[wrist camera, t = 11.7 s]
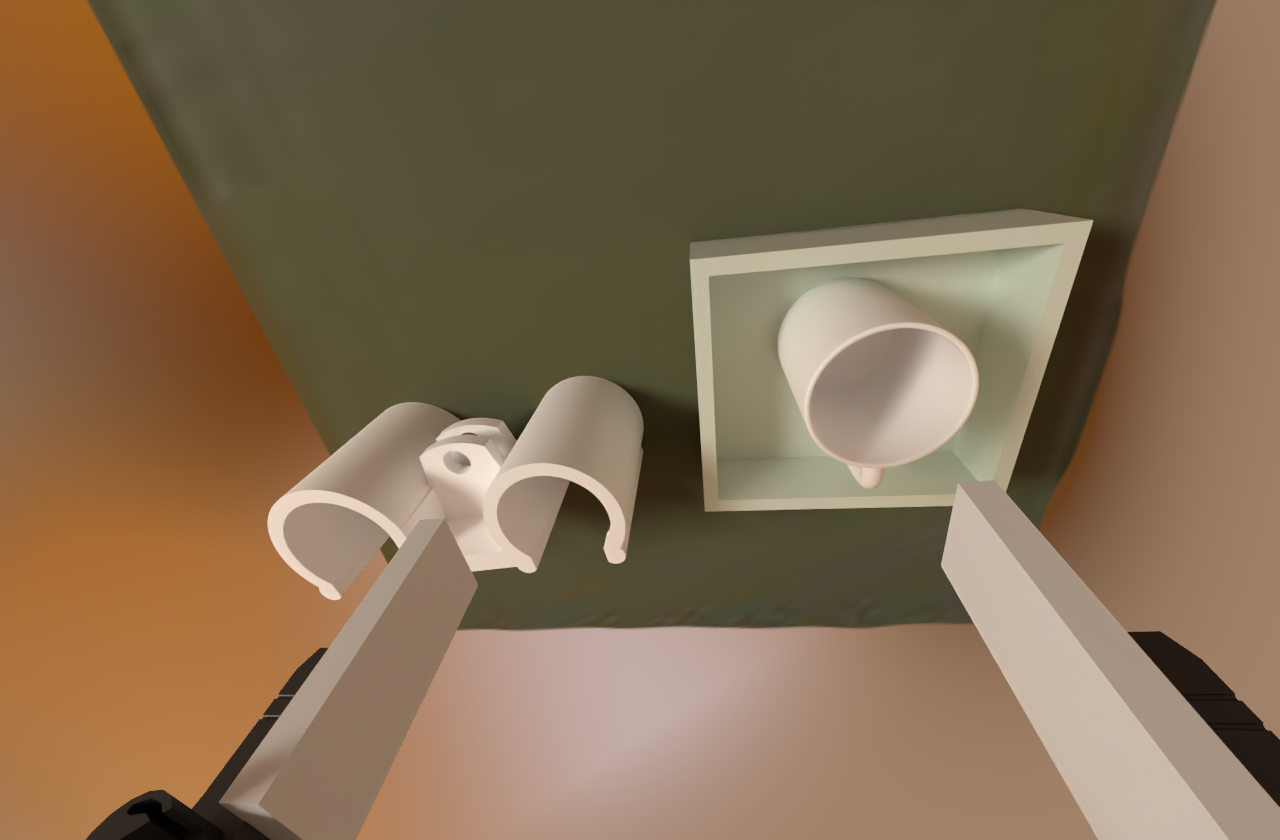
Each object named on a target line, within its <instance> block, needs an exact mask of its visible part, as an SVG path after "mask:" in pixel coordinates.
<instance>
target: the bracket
mask: <svg viewBox="0 0 1280 840" xmlns="http://www.w3.org/2000/svg"><path fill="white" fill-rule="evenodd" d="M643 430H644V425H643V418H642V414H641V411H640V409H639V407H638V405H637V404H636V402H635V401H634V399H633V398H632V397H631V396H630V395H629V394H628V393H627V392H626V391H625V390H624V389H623V388H621V387H620V386H618V385H617V384H615V383H613V382H611V381H608V380H606V379H603V378H599V377H593V376H578V377H572V378H568V379H566V380H563V381H561V382H559V383H558V384H556V385H555V386H553V387H552V388H551V389H550V390H549V391H548V392H547V393H546V395H545V396H544V398H543V399H542V401H541V403H540V404H539V406H538V408H537V409H536V411H535V412H534V414H533V416H532V417H531V419H530V421H529V422H528V424H527V426H526V427H525V429H524V430H523V432H522V434H521V435H520V437H519V439H518V440H517V441H516V439H515V438H514V436H513V435H512V433H511V432H510V431H509V429H508V428H507V426H506V425H505V423H504V422H503V421H502V420H498V419H492V418H471V419H466V420H462V421H461V420H460V419H458V418H457V417H456V416H454V415H453V414H451V413H449V412H447V411H445V410H443V409H441V408H439V407H436V406H433V405H430V404H425V403H418V402H407V403H401V404H397V405H394V406H392V407H390V408H388V409H387V410H385V411H384V412H383V413H382V414H380V415H379V416H378V417H377V418H376V419H374V420H373V421H372V422H371V423H370V424H368V425H367V426H366V427H365V428H364V429H362V430H361V431H360V432H359V433H358V434H357V435H355V436H354V437H353V438H352V439H351V440H349V441H348V442H347V443H346V444H345V445H343V446H342V447H341V448H340V449H339V450H337V451H336V452H335V453H334V454H333V455H331V456H330V457H329V458H328V459H327V460H326V461H325V462H323V463H322V464H321V465H320V466H318V467H317V468H316V469H315V470H314V471H312V472H311V473H310V474H309V475H308V476H306V477H305V478H304V479H303V480H302V481H300V482H299V483H298V484H297V485H296V486H295V487H293V488H292V489H291V490H290V491H289V492H287V493H286V494H285V495H284V496H283V497H281V498H280V499H279V500H278V501H277V502H276V503H275V504H274V506H273V507H272V508H271V510H270V513H269V516H268V531H269V535H270V538H271V540H272V543H273V545H274V547H275V548H276V550H277V551H278V553H279V554H280V556H281V557H282V558H283V559H284V561H285V562H286V563H287V564H288V565H289V566H290V567H291V568H292V569H293V570H294V571H296V572H297V573H298V574H299V575H301V576H302V577H303V578H305V579H306V580H308V581H309V582H311V583H312V584H314V585H316V586H318V587H319V590H320V592H321V594H322V595H323V596H325V597H327V598H329V599H332V600H338V599H340V598H341V597H342V596H343V595H344V593H345V592H346V591H347V590H348V588H349V587H350V586H351V584H352V583H353V582H354V581H355V579H356V578H357V577H358V576H359V574H360V573H361V572H362V571H363V569H364V568H365V567H366V565H367V564H368V563H369V562H370V560H371V559H372V558H373V557H374V555H375V554H376V553H377V551H378V550H379V549H380V548H381V547H382V545H383V544H384V543H385V541H386V540H387V539H388V538H389V536H390V537H391V538H392V539H393V540H394V542H395V543H396V545H397V546H398V548H399V549H400V547H401V546H402V544H403V543H404V542H405V540H406V539H407V537H408V536H409V534H410V533H411V532H412V530H413V529H414V527H415V526H416V525H417V523H418V522H419V520H425V519H439V518H445V520H446V522H447V524H448V526H449V528H450V530H451V532H452V534H453V536H454V538H455V540H456V542H457V544H458V546H459V548H460V550H461V552H462V554H463V556H464V558H465V560H466V562H467V564H468V566H469V568H470V570H471V572H472V571H481V570H490V569H499V568H508V567H518V568H519V569H520V570H521V571H523V572H526V573H532V572H535V571H536V570H537V568H538V565H539V562H540V560H541V557H542V554H543V552H544V549H545V546H546V544H547V541H548V538H549V536H550V533H551V530H552V528H553V525H554V522H555V520H556V517H557V514H558V512H559V509H560V506H561V504H562V501H563V498H564V496H565V493H566V490H567V488H568V485H569V482H570V481H572V482H575V483H577V484H579V485H581V486H583V487H584V488H586V489H587V490H589V491H590V492H591V493H593V494H594V495H595V496H596V497H597V498H598V499H599V500H600V502H601V503H602V504H603V506H604V507H605V509H606V511H607V513H608V515H609V518H610V523H611V525H610V530H609V531H608V532H607V536H606V540H605V545H604V551H605V554H606V556H607V559H608V562H610V563H615V564H617V563H621V562H623V561H624V560H625V558H626V552H627V546H628V540H629V534H630V528H631V522H632V516H633V510H634V504H635V498H636V492H637V486H638V480H639V474H640V468H641V462H642V456H643V449H642V447H641V443H642V437H643ZM473 433H474V434H476V435H474V434H473ZM477 435H478V436H477Z"/></svg>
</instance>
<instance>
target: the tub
mask: <svg viewBox="0 0 1280 840" xmlns="http://www.w3.org/2000/svg"><path fill="white" fill-rule="evenodd" d="M1092 223H1093V220H1090V219H1083V218H1077V217H1071V216H1065V215H1059V214H1053V213H1047V212H1041V211H1035V210H1028V209H1022V208H1019V209H1009V210H999V211H990V212H980V213H970V214H961V215H951V216H941V217H932V218H922V219H912V220H903V221H893V222H883V223H874V224H864V225H854V226H844V227H835V228H825V229H815V230H806V231H796V232H786V233H777V234H767V235H757V236H748V237H738V238H728V239H719V240H709V241H699V242H690V270H691V287H692V304H693V320H694V337H695V354H696V370H697V387H698V403H699V420H700V437H701V453H702V470H703V487H704V503H705V511H748V510H791V509H834V508H878V507H921V506H953V505H954V500H955V495H956V490H957V485H958V483H961V482H975V481H990V480H995V481H996V482H997V484H998V485H999V486H1000V487H1001V488H1002V489H1003V490H1004V492H1005V493H1006V490H1007V487H1008V484H1009V481H1010V478H1011V475H1012V471H1013V468H1014V465H1015V462H1016V459H1017V456H1018V453H1019V450H1020V447H1021V444H1022V440H1023V437H1024V434H1025V431H1026V428H1027V425H1028V422H1029V419H1030V416H1031V412H1032V409H1033V406H1034V403H1035V400H1036V397H1037V394H1038V391H1039V388H1040V385H1041V381H1042V378H1043V375H1044V372H1045V369H1046V366H1047V363H1048V360H1049V357H1050V354H1051V350H1052V347H1053V344H1054V341H1055V338H1056V335H1057V332H1058V329H1059V326H1060V323H1061V319H1062V316H1063V313H1064V310H1065V307H1066V304H1067V301H1068V298H1069V295H1070V292H1071V288H1072V285H1073V282H1074V279H1075V276H1076V273H1077V270H1078V267H1079V264H1080V261H1081V257H1082V254H1083V251H1084V248H1085V245H1086V242H1087V239H1088V236H1089V233H1090V230H1091V226H1092ZM838 278H861V279H866V280H870V281H873V282H875V283H878V284H880V285H882V286H884V287H885V288H887V289H889V290H890V291H892V292H893V293H894V294H896V295H897V296H899V297H900V298H902V299H903V300H905V301H906V302H907V303H909V304H910V305H912V306H913V307H915V308H916V309H918V310H919V311H921V312H922V313H923V314H925V315H926V316H928V317H929V318H931V319H932V320H934V321H935V322H936V323H938V324H939V325H941V326H942V327H944V328H945V329H947V330H948V331H949V332H951V333H952V334H954V335H955V336H957V337H958V338H959V339H960V340H961V341H962V342H964V343H965V345H966V346H967V347H968V348H969V350H970V351H971V353H972V355H973V356H974V359H975V361H976V364H977V367H978V373H979V390H978V395H977V399H976V402H975V405H974V408H973V410H972V412H971V414H970V416H969V417H968V419H967V421H966V422H965V423H964V425H963V426H962V427H961V429H960V430H959V431H958V432H957V433H956V434H955V435H954V436H953V437H952V438H951V439H950V440H949V441H948V442H946V443H945V444H944V445H942V446H941V447H940V448H938V449H937V450H935V451H934V452H932V453H930V454H928V455H926V456H925V457H922V458H920V459H918V460H915V461H913V462H910V463H907V464H903V465H899V466H894V467H887V468H885V470H884V476H883V479H882V481H881V483H880V485H878V486H877V487H876V488H873V489H868V488H864V487H862V486H861V485H860V484H859V483H858V482H857V481H856V479H855V478H854V476H853V475H852V473H851V471H850V469H849V468H848V465H847V464H846V463H843V462H841V461H839V460H836V459H834V458H833V457H831V456H830V455H828V454H827V453H825V452H824V451H823V450H822V449H821V448H820V447H819V446H818V445H817V444H816V443H815V441H814V440H813V438H812V437H811V435H810V433H809V431H808V429H807V426H806V424H805V421H804V419H803V417H802V414H801V412H800V409H799V407H798V404H797V402H796V400H795V397H794V395H793V392H792V390H791V388H790V385H789V383H788V380H787V378H786V376H785V373H784V371H783V368H782V366H781V363H780V359H779V355H778V334H779V329H780V326H781V324H782V321H783V319H784V317H785V315H786V313H787V312H788V310H789V309H790V308H791V306H792V305H793V304H794V303H795V302H796V301H797V300H798V299H799V298H800V297H801V296H802V295H803V294H805V293H806V292H807V291H809V290H810V289H812V288H814V287H815V286H817V285H819V284H822V283H824V282H827V281H830V280H834V279H838Z"/></svg>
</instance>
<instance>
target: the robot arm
mask: <svg viewBox="0 0 1280 840" xmlns="http://www.w3.org/2000/svg"><path fill="white" fill-rule="evenodd" d="M941 567H942V568H943V570H944V572H945V573H946V575H947V577H948V579H949V580H950V582H951V584H952V586H953V587H954V589H955V591H956V593H957V594H958V596H959V598H960V600H961V601H962V603H963V605H964V607H965V608H966V610H967V612H968V614H969V615H970V617H971V619H972V621H973V622H974V624H975V626H976V627H977V629H978V631H979V633H980V634H981V636H982V638H983V640H984V641H985V643H986V645H987V647H988V648H989V650H990V652H991V654H992V655H993V657H994V659H995V661H996V662H997V664H998V666H999V668H1000V669H1001V671H1002V673H1003V675H1004V676H1005V678H1006V680H1007V681H1008V683H1009V685H1010V687H1011V688H1012V690H1013V692H1014V693H1015V696H1016V697H1017V699H1018V701H1019V702H1020V704H1021V706H1022V707H1023V709H1024V711H1025V713H1026V715H1027V716H1028V718H1029V720H1030V721H1031V723H1032V725H1033V727H1034V729H1035V730H1036V732H1037V734H1038V736H1039V737H1040V739H1041V741H1042V743H1043V744H1044V746H1045V748H1046V749H1047V751H1048V753H1049V755H1050V757H1051V758H1052V760H1053V762H1054V763H1055V765H1056V767H1057V769H1058V770H1059V772H1060V774H1061V776H1062V777H1063V779H1064V781H1065V783H1066V784H1067V786H1068V788H1069V790H1070V791H1071V793H1072V795H1073V796H1074V798H1075V800H1076V802H1077V803H1078V805H1079V807H1080V809H1081V811H1082V812H1083V814H1084V816H1085V818H1086V819H1087V821H1088V823H1089V824H1090V826H1091V828H1092V830H1093V831H1094V833H1095V835H1096V837H1097V838H1098V840H1280V740H1279V739H1278V738H1277V737H1276V736H1275V735H1274V734H1273V732H1272V731H1268V730H1266V729H1265V728H1264V726H1263V722H1262V721H1261V720H1260V719H1259V718H1258V717H1257V716H1256V715H1255V714H1254V713H1253V712H1252V711H1251V710H1250V709H1249V708H1248V707H1247V706H1246V705H1245V704H1244V703H1243V702H1242V701H1239V700H1237V699H1236V697H1235V693H1234V692H1233V691H1232V690H1231V689H1230V688H1229V687H1228V686H1227V685H1226V684H1225V683H1224V682H1223V681H1222V680H1221V679H1220V678H1219V677H1218V676H1217V675H1216V674H1215V673H1214V672H1213V671H1212V670H1211V669H1210V668H1209V666H1208V665H1207V664H1206V663H1205V662H1204V661H1203V660H1202V659H1200V658H1199V657H1197V656H1196V655H1194V654H1193V653H1191V652H1190V651H1188V650H1187V649H1185V648H1184V647H1183V646H1181V645H1179V644H1178V643H1177V642H1175V641H1174V640H1172V639H1171V638H1169V637H1168V636H1166V635H1165V634H1163V633H1162V632H1160V631H1157V632H1126V631H1125V629H1124V628H1123V627H1122V626H1121V625H1120V624H1119V622H1118V621H1117V620H1116V619H1115V618H1114V617H1113V616H1112V614H1111V613H1110V612H1109V611H1108V610H1107V609H1106V607H1105V606H1104V605H1103V604H1102V603H1101V602H1100V601H1099V599H1098V598H1097V597H1096V596H1095V595H1094V594H1093V593H1092V592H1091V590H1090V589H1089V588H1088V587H1087V586H1086V585H1085V583H1084V582H1083V581H1082V580H1081V579H1080V578H1079V577H1078V576H1077V574H1076V573H1075V572H1074V571H1073V570H1072V569H1071V567H1070V566H1069V565H1068V564H1067V563H1066V562H1065V560H1064V559H1063V558H1062V557H1061V556H1060V555H1059V554H1058V552H1057V551H1056V550H1055V549H1054V548H1053V547H1052V546H1051V544H1050V543H1049V542H1048V541H1047V540H1046V539H1045V537H1044V536H1043V535H1042V534H1041V533H1040V532H1039V531H1038V529H1037V528H1036V527H1035V526H1034V525H1033V524H1032V523H1031V521H1030V520H1029V519H1028V518H1027V517H1026V516H1025V515H1024V513H1023V512H1022V511H1021V510H1020V509H1019V508H1018V506H1017V505H1016V504H1015V503H1014V502H1013V501H1012V500H1011V498H1010V497H1009V496H1008V495H1007V494H1006V493H1005V492H1004V490H1003V489H1002V488H1001V487H1000V486H999V485H998V484H997V482H996V481H995V480H990V481H975V482H961V483H958V485H957V490H956V495H955V500H954V505H953V510H952V514H951V519H950V524H949V529H948V534H947V539H946V544H945V549H944V554H943V558H942V563H941ZM477 586H478V584H477V582H476V580H475V578H474V576H473V574H472V572H471V570H470V568H469V566H468V564H467V562H466V560H465V558H464V556H463V554H462V552H461V550H460V548H459V546H458V544H457V542H456V540H455V538H454V536H453V534H452V532H451V530H450V528H449V526H448V524H447V522H446V520H445V518H439V519H425V520H419V522H418V523H417V525H416V526H415V527H414V529H413V530H412V532H411V533H410V534H409V536H408V537H407V539H406V540H405V542H404V543H403V544H402V546H401V547H400V549H399V550H398V551H397V553H396V554H395V556H394V557H393V558H392V560H391V561H390V563H389V564H388V565H387V567H386V568H385V570H384V571H383V572H382V574H381V575H380V577H379V578H378V579H377V581H376V582H375V584H374V585H373V586H372V588H371V589H370V591H369V592H368V593H367V595H366V596H365V598H364V599H363V600H362V602H361V603H360V605H359V606H358V607H357V609H356V610H355V612H354V613H353V614H352V616H351V617H350V619H349V620H348V621H347V623H346V624H345V626H344V627H343V629H342V630H341V631H340V633H339V634H338V636H337V637H336V638H335V640H334V641H333V643H332V644H331V646H330V647H329V648H320V649H318V650H317V651H316V652H315V653H314V654H313V655H312V656H311V657H310V658H309V659H308V660H306V661H305V662H304V663H303V664H302V665H301V666H300V667H299V668H298V669H297V670H296V671H295V672H294V674H293V675H292V676H291V678H290V679H289V681H288V682H287V683H286V684H285V686H284V687H283V689H282V690H281V691H280V693H279V697H278V698H277V699H274V701H273V702H272V703H271V705H270V706H269V707H268V709H267V710H266V711H265V713H264V714H263V715H264V717H263V719H261V720H259V721H258V722H257V723H256V725H255V726H254V727H253V729H252V730H251V732H250V733H249V734H248V736H247V737H246V738H245V740H244V741H243V743H242V744H241V745H240V746H239V748H238V749H237V750H236V752H235V753H234V754H233V756H232V757H231V758H230V760H229V761H228V762H227V764H226V765H225V766H224V768H223V769H222V771H221V772H220V773H219V775H218V776H217V777H216V779H215V780H214V781H213V783H212V784H211V785H210V787H209V788H208V790H207V791H206V792H205V793H204V795H203V796H202V797H201V798H200V800H199V801H198V802H197V803H196V804H195V806H194V807H193V808H192V809H190V808H189V807H187V806H186V805H184V804H183V803H182V802H180V801H179V800H177V799H176V798H174V797H173V796H171V795H170V794H168V793H167V792H166V791H164V790H157V791H149V792H147V793H145V794H142V795H140V796H138V797H136V798H134V799H132V800H130V801H129V802H127V803H126V804H124V805H123V806H122V807H120V808H119V809H117V810H116V811H115V812H113V813H112V814H111V815H109V817H107V818H106V819H105V820H104V821H103V822H102V823H101V824H100V825H99V826H98V827H97V828H96V829H95V830H94V831H93V832H92V833H91V834H90V835H89V836H88V838H87V839H86V840H356V838H357V836H358V834H359V832H360V830H361V828H362V826H363V824H364V822H365V820H366V818H367V816H368V813H369V811H370V809H371V807H372V805H373V803H374V801H375V799H376V797H377V795H378V793H379V791H380V788H381V786H382V784H383V782H384V780H385V778H386V776H387V774H388V771H389V770H390V768H391V766H392V763H393V761H394V759H395V757H396V755H397V753H398V751H399V749H400V747H401V745H402V742H403V740H404V738H405V736H406V734H407V732H408V730H409V728H410V726H411V724H412V722H413V720H414V718H415V716H416V713H417V711H418V709H419V707H420V705H421V703H422V701H423V699H424V697H425V695H426V693H427V690H428V688H429V686H430V684H431V682H432V680H433V678H434V676H435V674H436V671H437V670H438V668H439V665H440V663H441V661H442V659H443V657H444V655H445V653H446V651H447V649H448V647H449V644H450V643H451V640H452V638H453V636H454V634H455V632H456V630H457V628H458V626H459V624H460V622H461V620H462V618H463V616H464V613H465V611H466V609H467V607H468V605H469V603H470V601H471V599H472V597H473V595H474V593H475V591H476V588H477Z"/></svg>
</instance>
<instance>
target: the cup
mask: <svg viewBox="0 0 1280 840" xmlns="http://www.w3.org/2000/svg"><path fill="white" fill-rule="evenodd" d="M778 355H779V359H780V363H781V366H782V368H783V371H784V373H785V376H786V378H787V380H788V383H789V385H790V388H791V390H792V392H793V395H794V397H795V400H796V402H797V404H798V407H799V409H800V412H801V414H802V417H803V419H804V421H805V424H806V426H807V429H808V431H809V433H810V435H811V437H812V438H813V440H814V441H815V443H816V444H817V445H818V446H819V447H820V448H821V449H822V450H823V451H824V452H825V453H827V454H828V455H830V456H831V457H833V458H834V459H836V460H839V461H841V462H843V463H846V464H847V465H848V468H849V469H850V471H851V473H852V475H853V476H854V478H855V479H856V481H857V482H858V483H859V484H860V485H861V486H862V487H864V488H868V489H873V488H876V487H877V486H878V485H880V483H881V481H882V479H883V476H884V470H885V468H887V467H894V466H899V465H903V464H907V463H910V462H913V461H915V460H918V459H920V458H922V457H925V456H926V455H928V454H930V453H932V452H934V451H935V450H937V449H938V448H940V447H941V446H942V445H944V444H945V443H946V442H948V441H949V440H950V439H951V438H952V437H953V436H954V435H955V434H956V433H957V432H958V431H959V430H960V429H961V427H962V426H963V425H964V423H965V422H966V421H967V419H968V417H969V416H970V414H971V412H972V410H973V408H974V405H975V402H976V399H977V395H978V390H979V373H978V367H977V364H976V361H975V359H974V356H973V355H972V353H971V351H970V350H969V348H968V347H967V346H966V345H965V343H964V342H962V341H961V340H960V339H959V338H958V337H957V336H955V335H954V334H952V333H951V332H949V331H948V330H947V329H945V328H944V327H942V326H941V325H939V324H938V323H936V322H935V321H934V320H932V319H931V318H929V317H928V316H926V315H925V314H923V313H922V312H921V311H919V310H918V309H916V308H915V307H913V306H912V305H910V304H909V303H907V302H906V301H905V300H903V299H902V298H900V297H899V296H897V295H896V294H894V293H893V292H892V291H890V290H889V289H887V288H885V287H884V286H882V285H880V284H878V283H875V282H873V281H870V280H866V279H861V278H838V279H834V280H830V281H827V282H824V283H822V284H819V285H817V286H815V287H814V288H812V289H810V290H809V291H807V292H806V293H805V294H803V295H802V296H801V297H800V298H799V299H798V300H797V301H796V302H795V303H794V304H793V305H792V306H791V308H790V309H789V310H788V312H787V313H786V315H785V317H784V319H783V321H782V324H781V326H780V329H779V334H778Z"/></svg>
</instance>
